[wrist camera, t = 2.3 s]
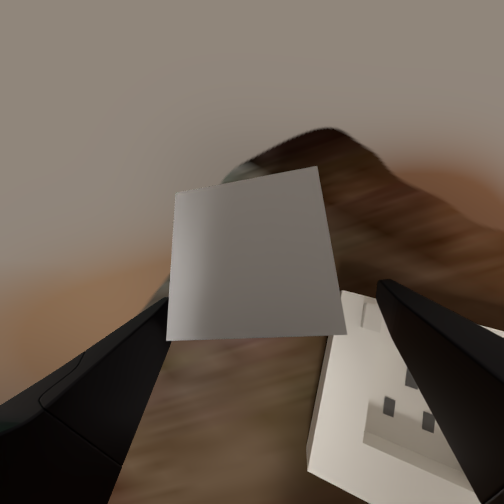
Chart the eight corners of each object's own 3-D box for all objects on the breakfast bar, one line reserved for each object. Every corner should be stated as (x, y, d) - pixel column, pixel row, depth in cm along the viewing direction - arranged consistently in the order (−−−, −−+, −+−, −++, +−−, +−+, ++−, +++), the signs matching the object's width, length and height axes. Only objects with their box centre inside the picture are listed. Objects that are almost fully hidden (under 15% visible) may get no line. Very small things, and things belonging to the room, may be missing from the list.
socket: (511, 547, 11) (576, 619, 8) (306, 447, 14) (307, 477, 11) (513, 338, 13) (565, 345, 11) (336, 292, 16) (343, 289, 14)
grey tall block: (312, 317, 16) (347, 334, 5) (256, 320, 17) (166, 340, 5) (305, 261, 18) (317, 165, 6) (253, 267, 18) (175, 192, 7)
